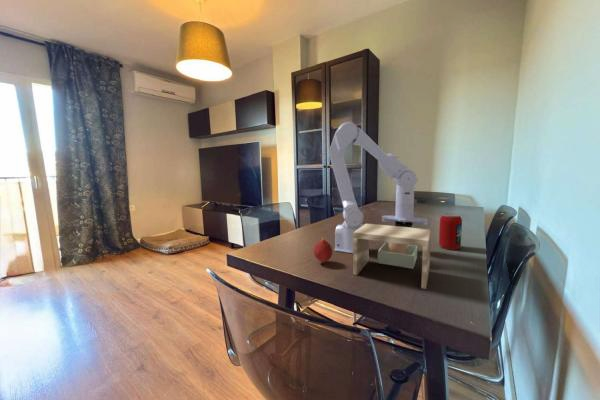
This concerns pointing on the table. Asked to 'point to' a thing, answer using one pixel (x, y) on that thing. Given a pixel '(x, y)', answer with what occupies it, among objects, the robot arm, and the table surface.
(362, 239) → the shelf
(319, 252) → the onion
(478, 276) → the table surface
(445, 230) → the beverage can
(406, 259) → the tray
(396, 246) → the pink-tan solid cylinder
